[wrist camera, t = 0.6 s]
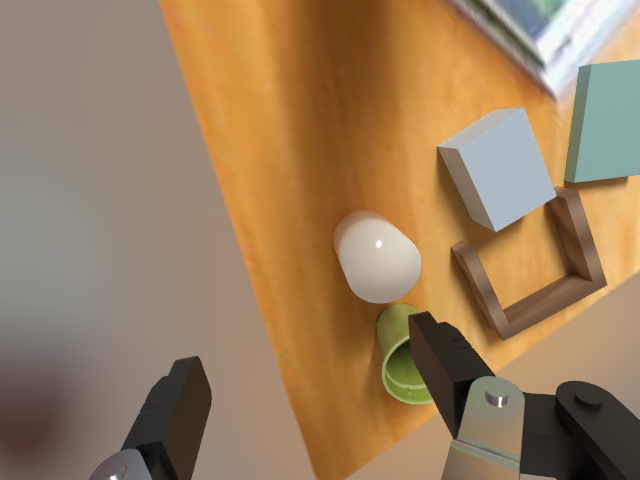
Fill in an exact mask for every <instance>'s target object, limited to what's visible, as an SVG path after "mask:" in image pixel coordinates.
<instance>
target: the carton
mask: <svg viewBox="0 0 640 480" xmlns="http://www.w3.org/2000/svg"><path fill="white" fill-rule="evenodd" d="M437 148H438V150H439V152H440V154H441V156H442V158H443V160H444V163H445V165H446V167H447V169H448V171H449V173H450V175H451V177H452V179H453V181H454V183H455V186H456V188H457V190H458V192H459V194H460V196H461V198H462V200H463V202H464V204H465V206H466V208H467V211H468V213H469V215H470V217H471V219H472V221H474V222H476V223H478V224H480V225H482V226H484V227H486V228H488V229H490V230H492V231H494V232H497V231H499V230H501V229H502V228H504V227H506V226H507V225H509V224H511V223H513V222H514V221H516V220H518V219H519V218H521V217H523V216H524V215H526V214H528V213H529V212H531V211H533V210H534V209H536V208H538V207H539V206H541V205H543V204H544V203H546V202H548V201H549V200H551V199H553V198H555V197H556V193H555V190H554V187H553V185H552V182H551V179H550V177H549V174H548V171H547V168H546V166H545V163H544V160H543V158H542V155H541V152H540V150H539V147H538V144H537V141H536V139H535V136H534V133H533V131H532V128H531V125H530V123H529V120H528V117H527V114H526V112H525V109H524V107H523V108H511V109H499V110H493V111H492V112H490V113H488V114H487V115H485V116H484V117H482V118H481V119H479V120H477V121H476V122H474V123H473V124H471V125H470V126H468V127H466V128H465V129H463V130H462V131H460V132H459V133H457V134H455V135H454V136H452V137H451V138H449V139H447V140H446V141H444V142H443V143H441V144H440V145H438V146H437Z"/></svg>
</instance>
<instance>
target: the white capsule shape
mask: <svg viewBox="0 0 640 480" xmlns="http://www.w3.org/2000/svg"><path fill="white" fill-rule="evenodd" d="M333 245H334V249H335V252H336V254H337V257H338V259H339V262H340V264H341V267H342V269H343V272H344V274H345V277H346V279H347V282H348V284H349V286H350V288H351V289H352V291H353V292H354V293H355V294H356V295H357V296H358V297H360V298H361V299H363V300H365V301H368V302H371V303H377V304H382V303H389V302H393V301H395V300H398V299H400V298H401V297H403V296H405V295H406V294H407V293H408V292H409V291H410V290H411V289H412V288H413V287H414V285H415V284H416V282H417V280H418V278H419V275H420V272H421V257H420V254H419V251H418V249H417V248H416V246H415V245H414V244H413V243H412V242H411V241H410V240H409V239H408V238H407V237H406V236H405V235H404V234H402V233H401V232H400V231H399V230H398V229H397V228H396V227H395V226H394V225H393V224H391V223H390V222H389V221H388V220H387V219H386V218H385V217H384V216H383V215H381V214H380V213H378V212H376V211H373V210H368V209H361V210H356V211H353V212H351V213H349V214H347V215H346V216H345V217H343V218H342V219H341V220H340V222H339V223H338V224H337V226H336V228H335V231H334V234H333Z"/></svg>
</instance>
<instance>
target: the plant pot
mask: <svg viewBox="0 0 640 480" xmlns="http://www.w3.org/2000/svg"><path fill="white" fill-rule="evenodd" d="M416 313H421V312H420V311H419V310H418V309H417V308H415V307H413V306H411V305H408V304H396V305H393V306H391V307H389V308H387V309H386V310H385V311H384V312H383V313H382V315H381V316H380V318H379V320H378V321H377V325H376V330H377V334H378V339H379V343H380V348H381V352H382V356H383V363H382V369H381V376H382V381H383V384H384V386H385V388H386V390H387V391H388V392H389V393H390V394H391V395H392V396H393V397H394V398H396V399H397V400H399V401H401V402H404V403H408V404H428V403H432V402H434V400H433V398H432V396H431V394H430V393H429V391H428V389H427V387H426V385H425V383H424V381H423V379H422V377H421V375H420V373H419V371H418V369H417V368H416V366H415V363H414V361H413V358H412V354H411V349H410V338H409V327H408V315H411V314H416Z"/></svg>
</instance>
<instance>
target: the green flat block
mask: <svg viewBox="0 0 640 480" xmlns="http://www.w3.org/2000/svg"><path fill="white" fill-rule="evenodd" d="M633 175H640V60H630V61H620V62H610V63H600V64H591V65H586V66H581V67H579V73H578V80H577V88H576V95H575V103H574V110H573V118H572V125H571V133H570V140H569V147H568V155H567V162H566V170H565V177H564V181H568V182H573V183H577V182H585V181H593V180H601V179H609V178H617V177H625V176H633Z"/></svg>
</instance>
